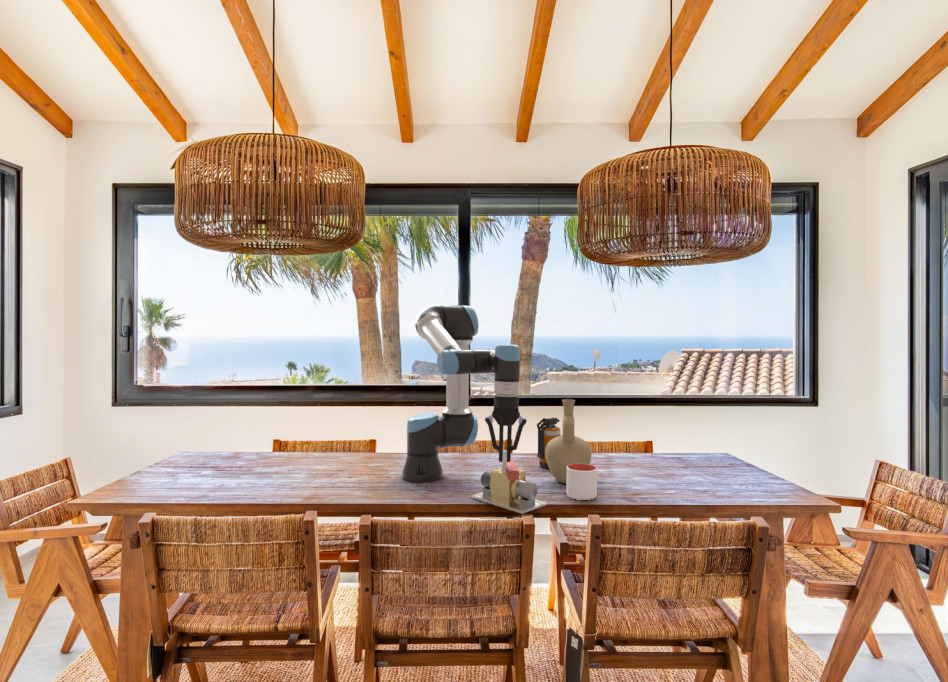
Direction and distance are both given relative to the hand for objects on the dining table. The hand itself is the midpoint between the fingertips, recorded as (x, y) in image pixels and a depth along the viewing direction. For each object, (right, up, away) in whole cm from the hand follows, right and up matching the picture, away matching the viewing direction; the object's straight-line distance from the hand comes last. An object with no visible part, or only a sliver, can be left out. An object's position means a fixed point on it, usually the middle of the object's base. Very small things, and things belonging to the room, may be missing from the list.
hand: (504, 472), depth 168 cm
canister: (+21, -11, +55) cm, 60 cm away
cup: (+27, -12, +16) cm, 33 cm away
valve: (+2, -12, +11) cm, 16 cm away
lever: (+2, -2, +4) cm, 5 cm away
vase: (+25, -12, +34) cm, 44 cm away
